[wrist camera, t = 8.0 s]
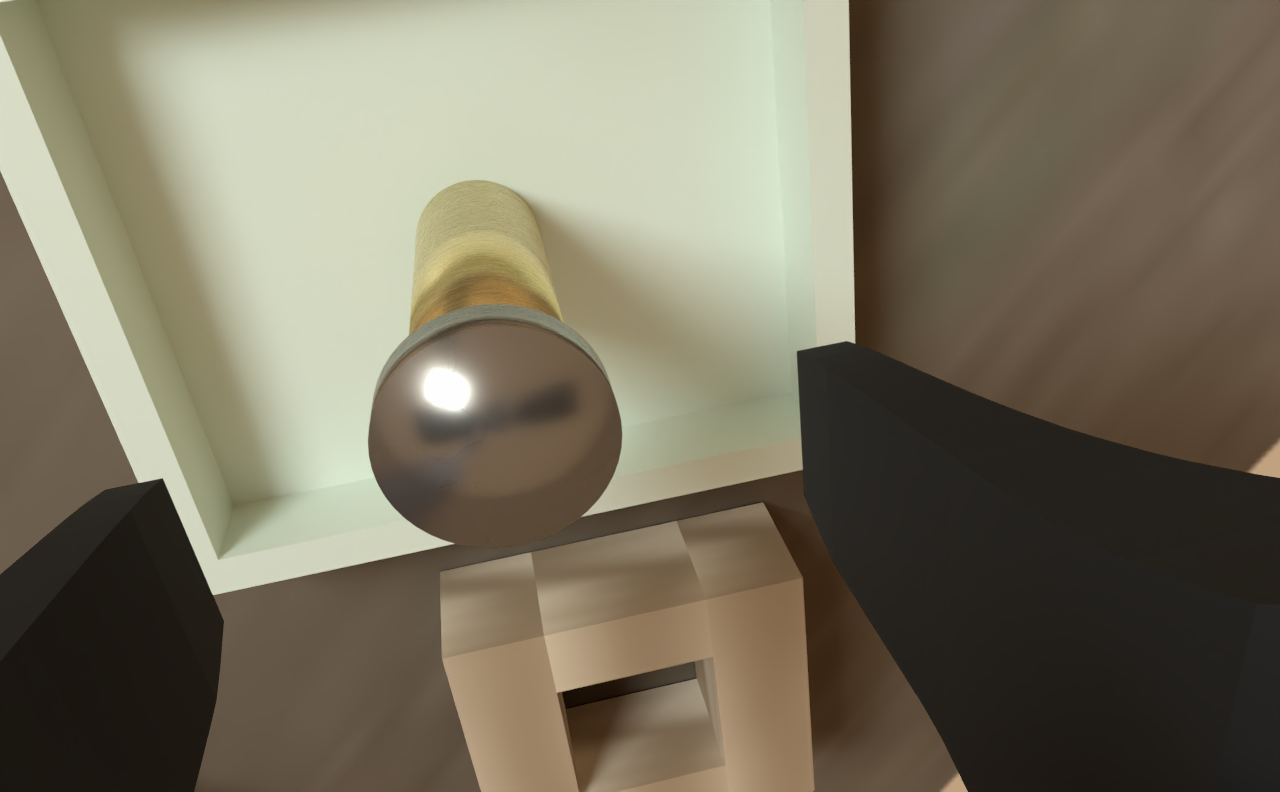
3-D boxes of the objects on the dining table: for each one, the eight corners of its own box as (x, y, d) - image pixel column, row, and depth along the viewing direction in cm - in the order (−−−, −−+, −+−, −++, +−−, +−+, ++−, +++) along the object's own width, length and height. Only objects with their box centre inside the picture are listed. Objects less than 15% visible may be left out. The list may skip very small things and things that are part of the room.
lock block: (495, 771, 28) (503, 867, 25) (440, 571, 24) (441, 658, 22) (778, 705, 28) (814, 791, 26) (763, 501, 25) (802, 578, 22)
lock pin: (416, 328, 20) (402, 570, 14) (376, 175, 19) (336, 357, 12) (572, 299, 21) (637, 520, 14) (545, 145, 19) (602, 306, 12)
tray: (212, 527, 22) (190, 600, 20) (-29, -60, 17) (-97, -46, 14) (817, 402, 24) (857, 458, 22) (794, -178, 18) (845, -182, 16)
